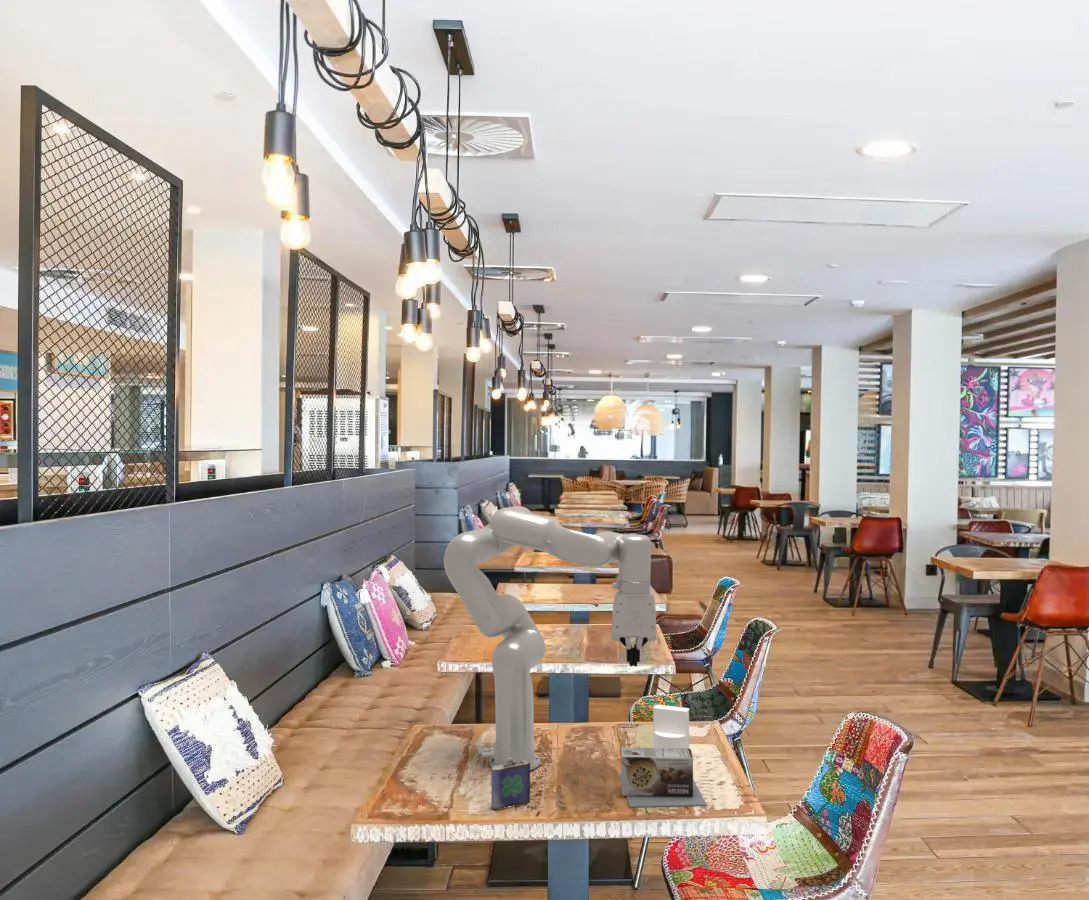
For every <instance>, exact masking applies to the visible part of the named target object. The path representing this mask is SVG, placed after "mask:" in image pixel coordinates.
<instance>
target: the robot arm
mask: <svg viewBox="0 0 1089 900" xmlns="http://www.w3.org/2000/svg"><path fill="white" fill-rule="evenodd" d="M490 517H491V518H490V521H489V523H488V524H486V525H485V526H483V527H482V528H479V529H478V528H477V529H474V530H468V531H465V532H461V533H459V534H458V535H455V536H454V537H453V538H452V539H451V540H450V542H449V543H448V545H447V546H446V549H445V551H444V557H443V566H444V571H445V574H446V576H447V578H448V580H449V582H450V583H451V585H452V587H453V588H454V589H455V591H456V593H457V594H458V596H459V598H460V599H461V601H462V603H463V605H464V607H465V608H466V610H467V612H468V615H469V616H470V617H471V620H472V621H473V623H474V624H475V626H476V628H477V629H478V631H479V632H480V634H482V635H483V636H484V637H486V638H491V639H493V638H496V637H499V636H502V637H503V639H502V641H499V642H498V643H497V645H495V646H496V647H494V649H493V653H492V655H491V668H492V673H493V678H494V690H495V691H494V696H495V697H494V699H495V701H494V702H495V708H494V709H495V742H494V745H490V747H486V746H479V747H477V755H478V756H481V757H482V759H485V758H486V759H487V758H489V765H490V767H491V768H492V767H495V766H498V765H502V764H507V763H506V761H507V758H506V757H507V756H509V755H511V756H512V759H513V760H515V761H519V760H523V761H524V760H526V761H528V762H529V763H530V771H532V770H535V769H536V768H538V767H539V766H540V765H541V757H540V756H539V755H538V754H536V753H535V732H534V731H535V730H534V728H535V727H534V725H535V724H534V723H535V722H534V721H535V718H534V716H535V715H534V714H535V713H534V708H535V707H534V704H535V703H534V685H533V681H532V676H531V669H532V668H534V667H536V666H537V665H538V664H540V663H541V662H542V661H543V659H544V657H545V655H546V643H545V642H546V641H545V640H544V638H543V636H542V634H541V632H540V630H539V628H538V627H537V626H536V623H535V622H534V620H533V619H532V617H531V614H529V612H528V610H527V609H526V606H525V605H524V604H523V603H522V602H521V600H520V599H518V598H517V596H514V595H511V594H508V593H502V594H498V593H497V591H496V590H495V588H494V586H493V585H492V582H491V580H490V579H489V578H488V577H487V576H486V574H484V573H483V572H482V571H481V570H480V568H479V567H478V564H481V563H484V562H487V561H491V560H493V559H495V558H497V557H499V556H500V555H502V554H503V553H505V552H506V551H508V550H510V549H511V548H513V547H514V546H516V545H517V546H520V547H523V548H529V549H532V550H536V551H540V552H544V553H547V554H548V555H550V556H552V557H554V558H558V560H559V559H560V560H563V561H566V562H570V563H572V564H573V563H574V564H576V565H581V566H584V567H585V566H586V567H590V568H601V567H603V566H606V565H608V564H611V563H615V562H617V563H618V573H617V574H618V578H617V580H616V581H614V582H613V581H612V582H611V587H612V589H616V590H617V591H616V592H615V594H614V599H613V605H612V614H611V615H612V616H611V634H610V639H611V640H612V641H616V642H620V643H621V644H622V645H623V646H624V647H625V648H626V662H627V663H628V665H629V667H635V668H636V667H638V663H640V662H641V650H642V648H643V647H644V646H645V645H646V644H647V643H649V642H655V641H656V640H657V635H656V634H657V613H656V612H657V611H656V609H657V608H656V601H655V596H654V595H655V594H654V593H653V592H651V576H652V575H651V571H652V570H651V568H652V567H651V566H652V563H651V562H652V561H651V560H652V542H651V541H652V540H651V538H650V537H649V536H647V535H644V534H638V533H637V534H636V533H633V534H632V533H631V534H629V533H628V534H625V533H619V532H614V531H607V530H606V531H601V532H597V533H595V534H594V533H593V534H590V533H585V532H582V531H577V530H573V529H569V528H567V527H564V526H562V525H561V524H560V523H559V521H558V520H557V519H555V518H554V517H551V516H545V515H541V514H538V513H537V514H536V513H532V511H531V510H530V509H528V508H527V507H525V506H521V505H514V506H508V507H502V508H499V509H498V510H497V511H495V512H494V513H493V514H492V516H490ZM631 638H635V644H633V645H632V639H631ZM511 756H510V757H511Z"/></svg>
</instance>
